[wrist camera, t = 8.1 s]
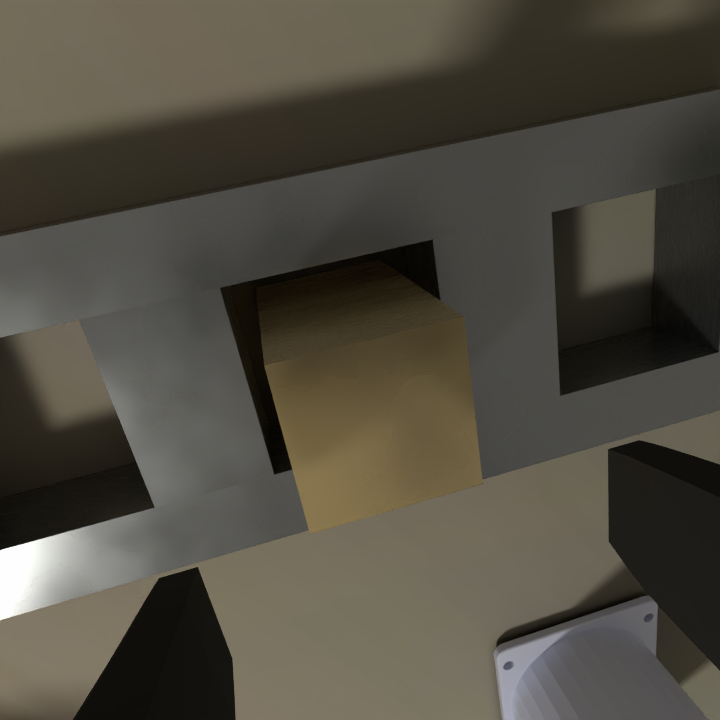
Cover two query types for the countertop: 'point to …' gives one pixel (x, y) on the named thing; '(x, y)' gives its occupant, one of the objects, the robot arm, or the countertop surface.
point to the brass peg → (368, 391)
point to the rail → (334, 243)
